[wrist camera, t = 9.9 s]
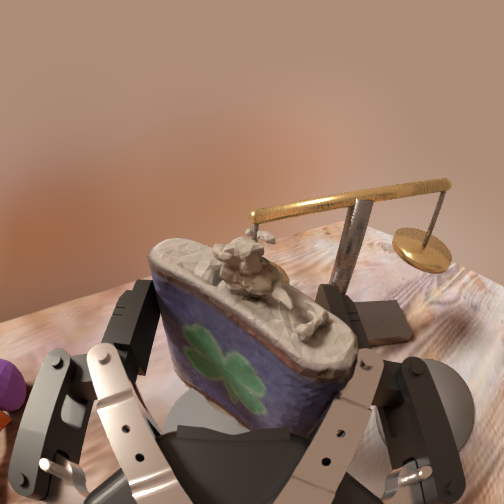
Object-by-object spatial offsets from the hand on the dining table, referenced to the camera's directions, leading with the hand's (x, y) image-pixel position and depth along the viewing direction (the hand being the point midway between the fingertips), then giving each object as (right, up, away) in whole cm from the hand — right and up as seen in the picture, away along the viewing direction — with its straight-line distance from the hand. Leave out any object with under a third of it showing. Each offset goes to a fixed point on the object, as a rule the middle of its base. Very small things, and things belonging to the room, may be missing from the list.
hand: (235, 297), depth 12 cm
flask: (0, -7, +2) cm, 7 cm away
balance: (+9, -7, +19) cm, 22 cm away
